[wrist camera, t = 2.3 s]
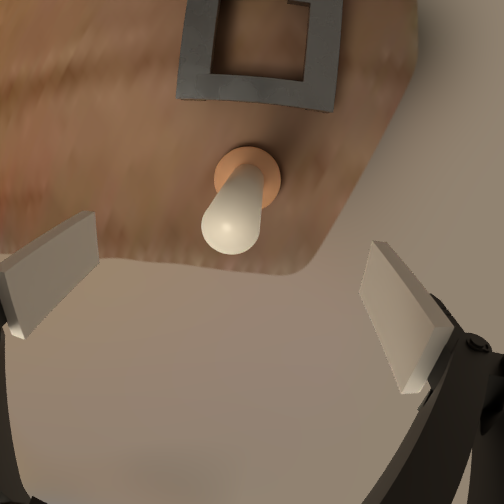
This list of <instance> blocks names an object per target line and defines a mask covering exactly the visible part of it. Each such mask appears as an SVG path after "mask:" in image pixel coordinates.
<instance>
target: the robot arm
mask: <svg viewBox="0 0 504 504" xmlns="http://www.w3.org/2000/svg"><path fill="white" fill-rule="evenodd" d="M98 264H99V254H98V244H97V233H96V220H95V212H92V211H81V212H80V213H78V214H76V215H74V216H73V217H71V218H69V219H67V220H66V221H64V222H62V223H61V224H59V225H57V226H56V227H54V228H53V229H51V230H49V231H48V232H46V233H44V234H43V235H41V236H40V237H38V238H37V239H35V240H33V241H32V242H30V243H29V244H27V245H26V246H24V247H23V248H21V249H20V250H18V251H17V252H15V253H14V254H12V255H11V256H10V257H8V258H7V259H5V260H4V261H2V262H1V263H0V504H47V503H45V502H43V501H41V500H39V499H37V498H35V497H33V496H32V498H30V497H29V495H28V494H27V492H26V491H25V489H24V487H23V485H22V482H21V479H20V475H19V471H18V466H17V462H16V458H15V452H14V447H13V442H12V435H11V428H10V422H9V413H8V405H7V393H6V377H5V334H4V331H3V328H2V326H3V325H4V324H5V323H6V322H7V323H8V326H9V329H10V331H11V334H12V335H14V336H16V337H19V338H22V339H24V340H25V339H26V338H27V337H28V336H29V335H30V334H31V333H32V331H33V330H34V329H35V328H36V327H37V326H38V325H39V324H40V323H41V322H42V320H43V319H44V318H45V317H46V316H47V315H48V314H49V313H50V312H51V311H52V310H53V309H54V308H55V307H56V306H57V305H58V304H59V303H60V302H61V301H62V299H64V298H65V296H66V295H67V294H68V293H69V292H70V291H71V290H72V289H73V288H74V287H75V286H76V285H77V284H78V283H79V282H80V281H81V280H83V279H84V278H85V277H86V276H87V275H88V274H89V273H90V272H91V271H92V270H93V269H94V268H95V267H96V266H97V265H98ZM359 295H360V297H361V299H362V302H363V304H364V306H365V308H366V310H367V313H368V315H369V317H370V320H371V322H372V324H373V327H374V329H375V331H376V333H377V336H378V338H379V341H380V343H381V345H382V348H383V350H384V353H385V355H386V358H387V360H388V362H389V365H390V367H391V370H392V372H393V375H394V378H395V380H396V383H397V385H398V388H399V391H400V393H401V394H408V393H420V391H421V389H422V388H423V386H424V384H425V383H426V381H427V380H428V382H429V384H430V386H431V389H430V391H429V392H428V394H427V396H426V397H425V399H424V400H423V402H422V403H421V405H420V406H419V408H418V411H419V412H418V414H417V416H416V418H415V420H414V422H413V423H412V425H411V427H410V429H409V431H408V433H407V435H406V436H405V438H404V440H403V442H402V443H401V445H400V447H399V449H398V450H397V452H396V453H395V455H394V457H393V458H392V460H391V462H390V463H389V465H388V466H387V468H386V470H385V471H384V472H383V474H382V476H381V477H380V478H379V480H378V481H377V483H376V484H375V486H374V487H373V489H372V490H371V491H370V493H369V494H368V496H367V497H366V498H365V500H364V501H363V502H362V504H451V503H452V501H453V498H454V496H455V494H456V491H457V489H458V486H459V484H460V481H461V478H462V476H463V473H464V470H465V467H466V465H467V461H468V459H469V456H470V452H471V449H472V462H471V475H470V485H469V493H468V501H467V504H504V354H499V353H495V352H492V348H491V346H490V345H489V343H488V342H487V341H486V340H484V339H483V338H482V337H480V336H478V335H476V334H472V333H465V332H464V331H463V329H462V328H461V327H460V325H459V324H458V323H457V321H456V320H455V319H454V318H453V316H451V313H450V312H449V311H448V310H446V307H445V306H444V304H443V303H442V302H441V301H440V300H439V299H438V298H436V297H435V296H434V295H432V294H429V293H428V292H427V290H426V289H425V288H424V286H423V285H422V284H421V283H420V281H419V280H418V279H417V278H416V276H415V275H414V274H413V273H412V271H411V270H410V269H409V268H408V267H407V265H406V264H405V263H404V262H403V261H402V259H401V258H400V257H399V256H398V255H397V254H396V253H395V251H394V250H393V249H392V248H391V247H390V245H389V244H388V243H387V242H379V241H372V243H371V247H370V252H369V256H368V260H367V264H366V267H365V271H364V275H363V279H362V282H361V286H360V290H359Z"/></svg>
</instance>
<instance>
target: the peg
mask: <svg viewBox="0 0 504 504" xmlns="http://www.w3.org/2000/svg"><path fill="white" fill-rule="evenodd" d="M214 184H215V188H216V191H217V195H216V197H215V198H214V200H213V201H212V203H211V204H210V206H209V207H208V209H207V210H206V212H205V213H204V216H203V218H202V224H201V228H202V233H203V236H204V238H205V240H206V242H207V243H208V244H209V245H210V246H211V247H212V248H213V249H215V250H217V251H219V252H221V253H224V254H239V253H242V252H245V251H247V250H248V249H249V248H251V247H252V246H253V245H254V243H255V242H256V240H257V238H258V236H259V231H260V221H261V210H262V209H263V208H265V207H266V206H268V205H269V204H270V203H271V202H272V201H273V200H274V199H275V197H276V196H277V194H278V192H279V189H280V184H281V176H280V171H279V167H278V165H277V163H276V161H275V160H274V158H273V157H272V156H271V155H270V154H269V153H267V152H266V151H264V150H262V149H260V148H257V147H252V146H244V147H239V148H236V149H234V150H232V151H230V152H229V153H227V154H226V155H225V156H224V157H223V158H222V159H221V160H220V162H219V163H218V165H217V167H216V170H215V175H214Z"/></svg>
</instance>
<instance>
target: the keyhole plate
mask: <svg viewBox="0 0 504 504" xmlns="http://www.w3.org/2000/svg"><path fill="white" fill-rule="evenodd" d="M220 3H221V0H188V1H187V7H186V13H185V20H184V27H183V35H182V43H181V51H180V59H179V69H178V79H177V89H176V99H181V100H194V101H206V100H223V101H239V102H252V103H263V104H272V105H281V106H289V107H297V108H304V109H305V110H310V111H316V112H323V113H333V110H334V101H335V92H336V82H337V72H338V61H339V50H340V37H341V23H342V6H343V0H288V1H287V4H295V5H302V6H309V16H308V28H307V39H306V49H305V60H304V70H303V80H302V82H300V81H292V80H284V79H276V78H266V77H255V76H241V75H223V74H212V69H213V59H214V50H215V42H216V34H217V26H218V18H219V10H220Z"/></svg>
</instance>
